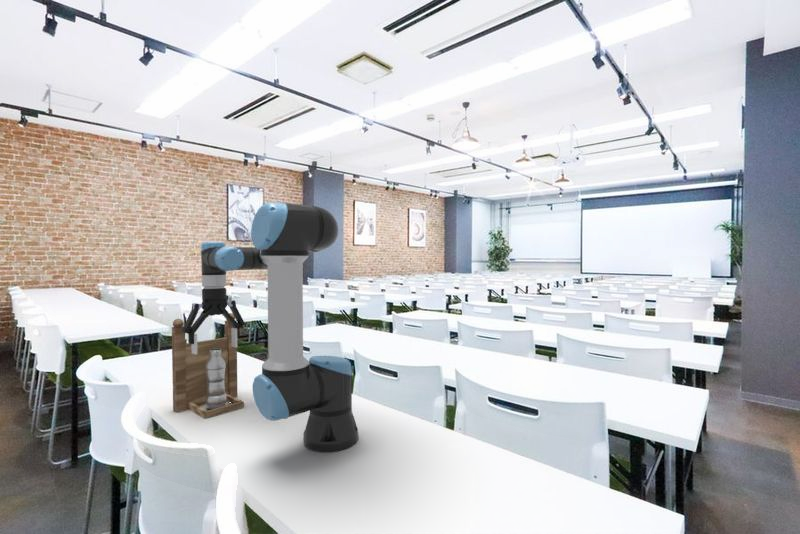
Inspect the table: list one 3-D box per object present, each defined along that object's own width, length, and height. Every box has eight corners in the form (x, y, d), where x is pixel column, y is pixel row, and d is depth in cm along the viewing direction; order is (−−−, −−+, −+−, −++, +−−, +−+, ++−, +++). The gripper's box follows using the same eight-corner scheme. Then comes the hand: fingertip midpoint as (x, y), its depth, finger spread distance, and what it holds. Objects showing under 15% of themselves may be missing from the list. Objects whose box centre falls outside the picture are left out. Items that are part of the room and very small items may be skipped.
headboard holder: (255, 404, 144) (254, 316, 143) (191, 422, 128) (190, 323, 127) (233, 394, 154) (232, 312, 153) (172, 410, 138) (171, 318, 137)
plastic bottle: (219, 412, 136) (218, 352, 136) (201, 410, 138) (200, 351, 137) (230, 405, 143) (230, 347, 142) (213, 403, 144) (212, 347, 144)
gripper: (243, 285, 151) (244, 342, 151) (170, 289, 132) (171, 355, 133) (254, 285, 146) (255, 345, 146) (179, 290, 127) (180, 358, 128)
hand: (215, 350), depth 140 cm, fingers open, 13 cm apart
